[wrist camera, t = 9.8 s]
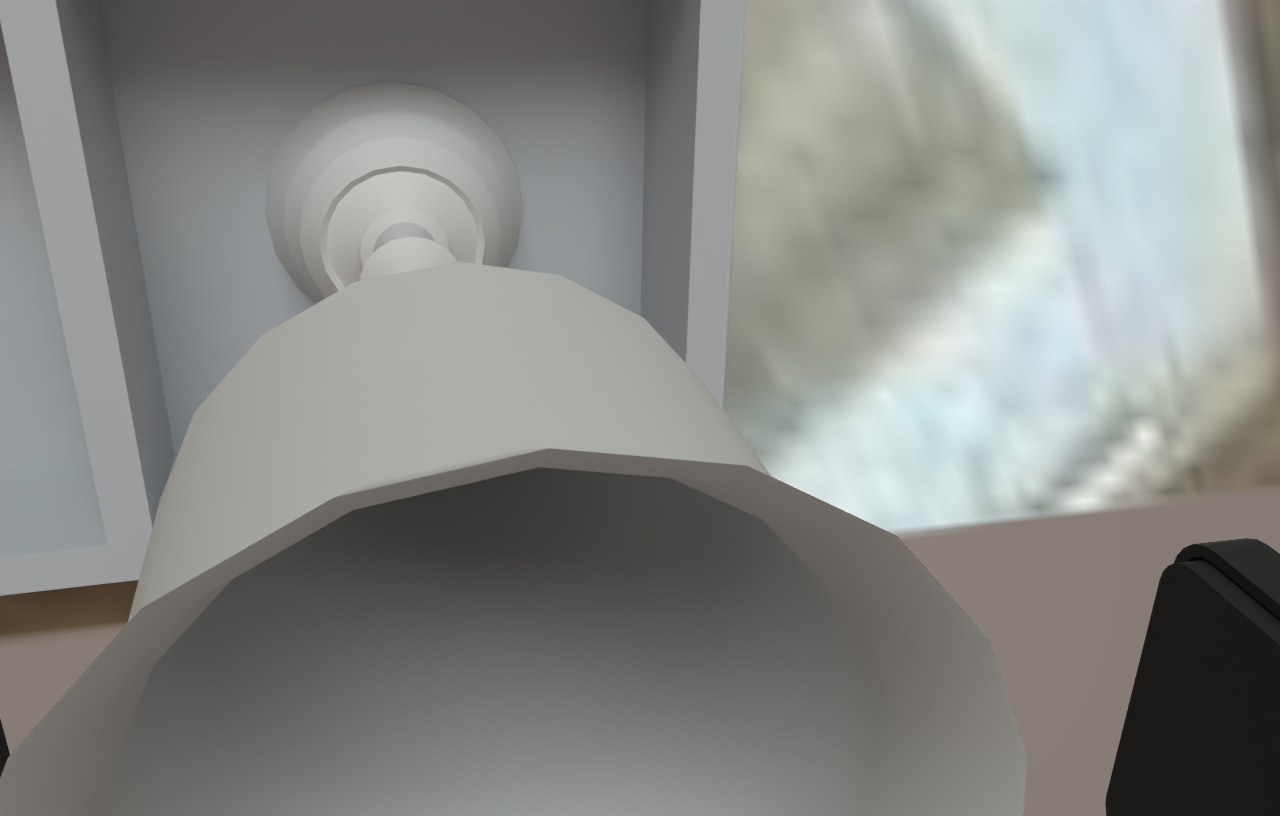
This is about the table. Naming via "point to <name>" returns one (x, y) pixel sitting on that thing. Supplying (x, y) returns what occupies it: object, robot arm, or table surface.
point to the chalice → (499, 556)
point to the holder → (236, 202)
